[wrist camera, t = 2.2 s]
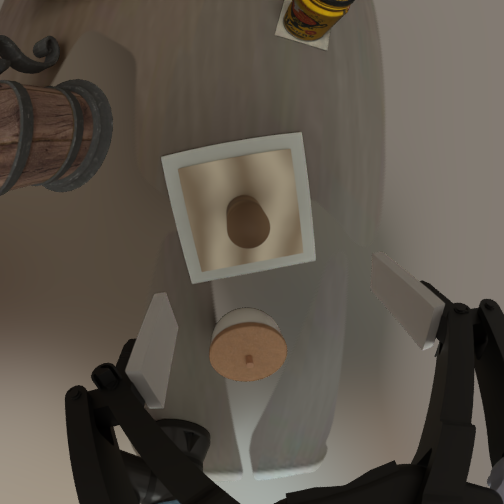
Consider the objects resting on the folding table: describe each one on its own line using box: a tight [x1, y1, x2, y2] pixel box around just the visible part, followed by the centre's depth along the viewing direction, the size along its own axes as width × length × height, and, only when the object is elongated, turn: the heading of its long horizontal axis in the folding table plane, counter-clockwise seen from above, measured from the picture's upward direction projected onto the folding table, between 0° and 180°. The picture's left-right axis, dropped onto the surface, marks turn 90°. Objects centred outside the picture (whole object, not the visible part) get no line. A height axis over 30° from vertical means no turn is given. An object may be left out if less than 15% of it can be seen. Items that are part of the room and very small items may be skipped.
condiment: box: [275, 0, 354, 51], centre depth 21 cm, size 7×8×12 cm
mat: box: [161, 132, 316, 284], centre depth 35 cm, size 18×18×1 cm
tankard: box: [0, 35, 113, 196], centre depth 18 cm, size 23×17×20 cm
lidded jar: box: [209, 308, 287, 382], centre depth 38 cm, size 11×11×9 cm
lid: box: [178, 149, 303, 272], centre depth 31 cm, size 14×14×8 cm
